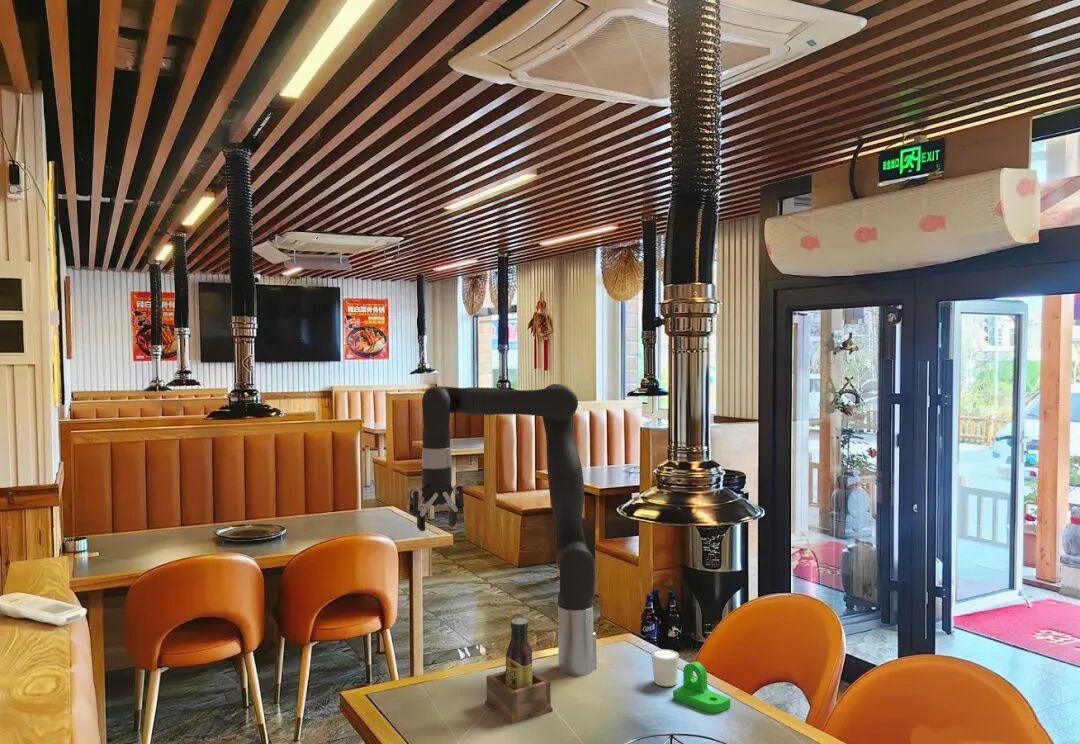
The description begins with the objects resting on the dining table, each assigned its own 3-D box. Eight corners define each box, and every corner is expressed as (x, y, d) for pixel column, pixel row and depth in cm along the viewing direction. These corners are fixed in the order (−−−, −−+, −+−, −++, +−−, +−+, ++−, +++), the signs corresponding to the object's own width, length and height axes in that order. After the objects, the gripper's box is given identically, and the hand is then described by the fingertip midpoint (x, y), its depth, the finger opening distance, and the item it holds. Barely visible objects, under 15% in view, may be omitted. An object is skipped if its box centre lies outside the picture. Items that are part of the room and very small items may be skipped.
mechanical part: (673, 698, 186) (672, 665, 186) (688, 690, 190) (688, 658, 190) (715, 715, 177) (715, 680, 177) (730, 707, 181) (730, 673, 181)
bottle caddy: (524, 693, 189) (523, 664, 189) (552, 712, 179) (552, 682, 179) (485, 705, 183) (484, 676, 183) (512, 725, 173) (511, 694, 173)
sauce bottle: (501, 701, 183) (500, 617, 182) (525, 696, 185) (524, 613, 185) (512, 713, 177) (511, 626, 176) (537, 707, 180) (536, 622, 179)
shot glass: (662, 673, 200) (662, 646, 200) (684, 681, 195) (684, 653, 195) (646, 681, 195) (645, 654, 195) (668, 690, 190) (668, 661, 190)
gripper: (454, 461, 205) (454, 522, 205) (404, 465, 197) (405, 529, 197) (468, 464, 199) (468, 527, 199) (417, 469, 191) (418, 535, 191)
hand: (437, 528), depth 198 cm, fingers open, 8 cm apart
